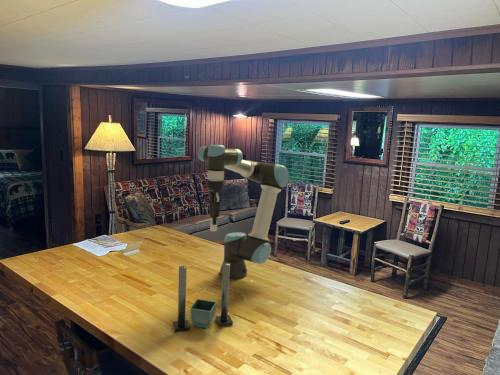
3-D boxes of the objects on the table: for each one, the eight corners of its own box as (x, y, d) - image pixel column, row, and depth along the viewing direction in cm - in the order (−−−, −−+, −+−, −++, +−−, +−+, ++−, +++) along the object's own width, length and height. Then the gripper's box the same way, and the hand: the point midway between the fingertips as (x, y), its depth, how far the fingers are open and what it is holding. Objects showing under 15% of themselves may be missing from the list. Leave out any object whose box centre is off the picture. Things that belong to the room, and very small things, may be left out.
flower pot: (209, 332, 156) (210, 311, 155) (189, 328, 158) (189, 308, 156) (216, 321, 165) (217, 301, 163) (196, 318, 166) (197, 298, 165)
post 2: (228, 318, 168) (231, 261, 163) (232, 325, 162) (235, 266, 158) (215, 319, 166) (217, 261, 162) (218, 326, 160) (221, 267, 156)
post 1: (187, 323, 162) (188, 263, 158) (189, 330, 156) (191, 269, 152) (172, 324, 160) (174, 265, 156) (174, 332, 154) (176, 270, 150)
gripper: (203, 177, 177) (202, 227, 181) (210, 182, 165) (208, 235, 169) (219, 177, 180) (217, 226, 184) (227, 182, 168) (225, 234, 172)
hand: (213, 230), depth 177 cm, fingers closed
